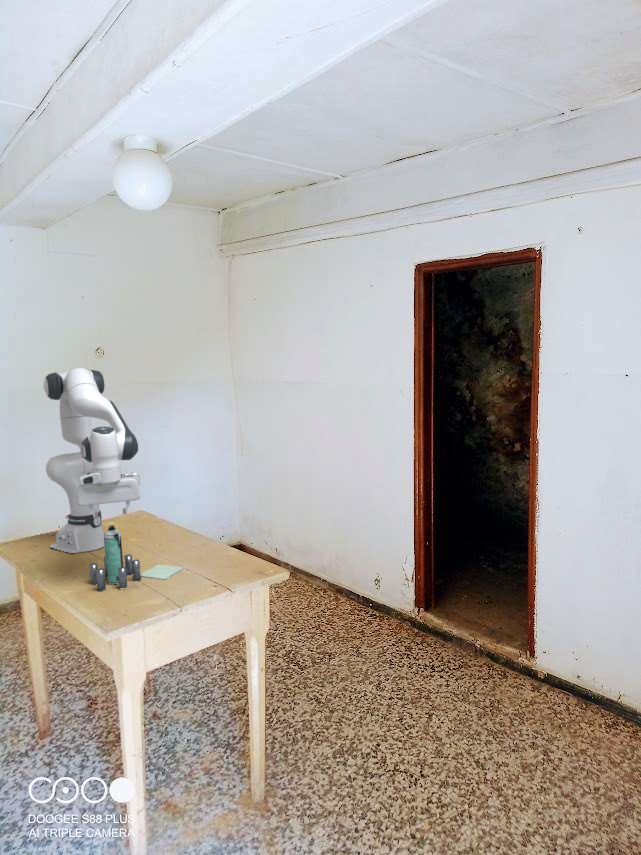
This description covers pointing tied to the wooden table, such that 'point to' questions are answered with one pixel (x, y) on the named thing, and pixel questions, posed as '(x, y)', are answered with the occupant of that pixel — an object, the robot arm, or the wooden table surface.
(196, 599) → the wooden table surface
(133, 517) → the wooden table surface
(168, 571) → the mat
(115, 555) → the spray can
